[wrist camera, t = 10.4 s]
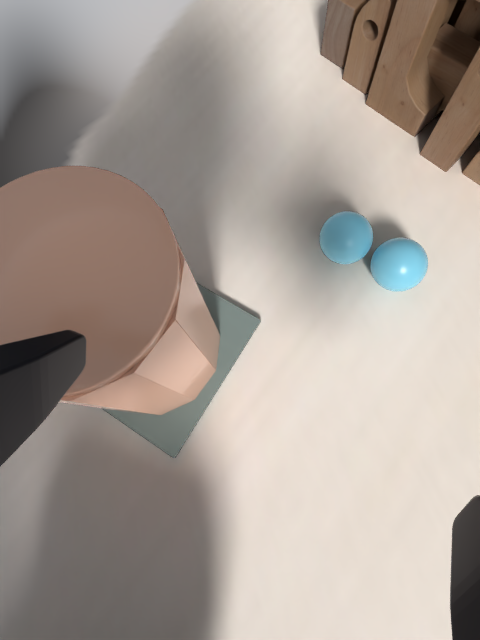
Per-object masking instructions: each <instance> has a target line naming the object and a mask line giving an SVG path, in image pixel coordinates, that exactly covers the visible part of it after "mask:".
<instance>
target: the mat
mask: <svg viewBox="0 0 480 640" xmlns="http://www.w3.org/2000/svg"><path fill="white" fill-rule="evenodd" d="M197 285H198V287H199V290H200V292H201V294H202V296H203V298H204V300H205V303H206V305H207V307H208V309H209V311H210V314H211V316H212V318H213V320H214V323H215V325H216V327H217V329H218V332H219V334H220V343H219V351H218V360H217V368H216V371H215V373H214V374H213V375H212V377H211V378H210V379H209V381H208V382H207V384H206V385H205V386H204V388H203V389H202V390H201V392H200V393H199V394H198V396H197V397H196V399H195V400H193V401H191V402H189V403H187V404H184V405H182V406H180V407H178V408H176V409H173V410H171V411H169V412H167V413H165V414H163V415H154V414H145V413H135V412H126V411H119V410H112V409H105V408H102V409H103V410H105V411H106V412H107V413H109V414H110V415H112V416H113V417H115V418H116V419H118V420H119V421H121V422H122V423H123V424H125V425H126V426H128V427H129V428H131V429H132V430H134V431H135V432H136V433H138V434H139V435H141V436H142V437H144V438H145V439H147V440H148V441H149V442H151V443H152V444H154V445H155V446H157V447H158V448H160V449H161V450H162V451H164V452H165V453H167V454H168V455H170V456H171V457H173V458H176V456H177V454H178V453H179V451H180V450H181V448H182V446H183V445H184V443H185V442H186V440H187V438H188V437H189V435H190V434H191V432H192V430H193V429H194V427H195V426H196V424H197V422H198V421H199V419H200V418H201V416H202V414H203V413H204V411H205V410H206V408H207V406H208V405H209V403H210V402H211V400H212V398H213V397H214V395H215V394H216V392H217V391H218V389H219V387H220V386H221V384H222V383H223V381H224V379H225V378H226V376H227V375H228V373H229V371H230V370H231V368H232V367H233V365H234V363H235V362H236V360H237V359H238V357H239V355H240V354H241V352H242V351H243V349H244V347H245V346H246V344H247V343H248V341H249V339H250V338H251V336H252V335H253V333H254V331H255V330H256V328H257V327H258V325H259V324H260V322H261V320H260V319H258V318H256V317H255V316H253V315H251V314H250V313H248V312H246V311H244V310H243V309H241V308H239V307H237V306H236V305H234V304H232V303H231V302H229V301H227V300H225V299H224V298H222V297H220V296H218V295H217V294H215V293H213V292H212V291H210V290H208V289H206V288H205V287H203V286H201V285H199V284H198V283H197Z"/></svg>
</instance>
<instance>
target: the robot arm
mask: <svg viewBox="0 0 480 640" xmlns="http://www.w3.org/2000/svg"><path fill="white" fill-rule="evenodd" d="M85 364H86V337H85V336H84V335H83V334H80V333H78V332H75V331H73V330H63V331H59V332H55V333H50V334H46V335H41V336H37V337H33V338H28V339H24V340H20V341H15V342H11V343H6V344H2V345H0V466H1V465H2V464H3V463H4V462H5V461H6V460H7V459H8V458H9V457H10V456H11V455H12V454H13V453H14V452H15V451H16V450H17V449H18V448H19V446H20V445H21V444H22V443H23V442H24V441H25V440H26V439H27V438H28V437H29V436H30V435H31V434H32V433H33V432H34V431H35V430H36V429H37V428H38V427H39V425H40V424H41V423H42V422H43V421H44V420H45V419H46V417H47V416H48V415H49V414H50V413H51V411H52V410H53V409H54V407H55V406H56V405H57V404H58V402H59V401H60V400H61V398H62V397H63V396H64V395H65V393H66V392H67V391H68V389H69V388H70V387H71V386H72V384H73V383H74V382H75V380H76V379H77V378H78V377H79V375H80V374H81V373H82V371H83V369H84V367H85ZM450 609H451V625H452V638H453V640H480V495H477V496H475V497H473V498H472V499H471V500H470V502H469V503H468V504H467V505H466V506H465V507H464V508H463V510H462V511H461V512H460V513H459V514H458V515H457V517H456V518H455V520H454V523H453V528H452V556H451V587H450Z"/></svg>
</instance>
